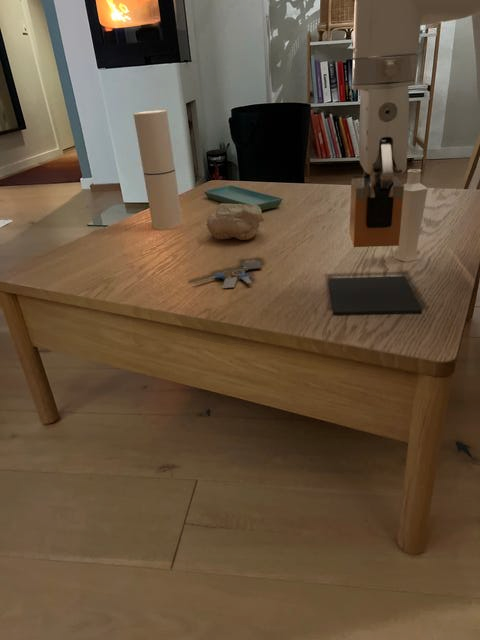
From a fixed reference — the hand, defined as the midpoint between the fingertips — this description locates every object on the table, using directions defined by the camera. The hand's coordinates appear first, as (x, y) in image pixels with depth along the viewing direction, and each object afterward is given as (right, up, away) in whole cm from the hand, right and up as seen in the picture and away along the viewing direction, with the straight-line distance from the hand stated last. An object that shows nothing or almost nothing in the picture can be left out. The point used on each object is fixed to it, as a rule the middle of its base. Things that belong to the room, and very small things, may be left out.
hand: (374, 218), depth 66 cm
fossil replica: (-19, +3, +35) cm, 40 cm away
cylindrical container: (-36, +8, +48) cm, 61 cm away
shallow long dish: (-18, +17, +62) cm, 66 cm away
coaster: (+1, -10, +6) cm, 12 cm away
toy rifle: (-19, -7, +15) cm, 25 cm away
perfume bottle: (+11, -3, +18) cm, 21 cm away
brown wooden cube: (0, +1, 0) cm, 1 cm away
